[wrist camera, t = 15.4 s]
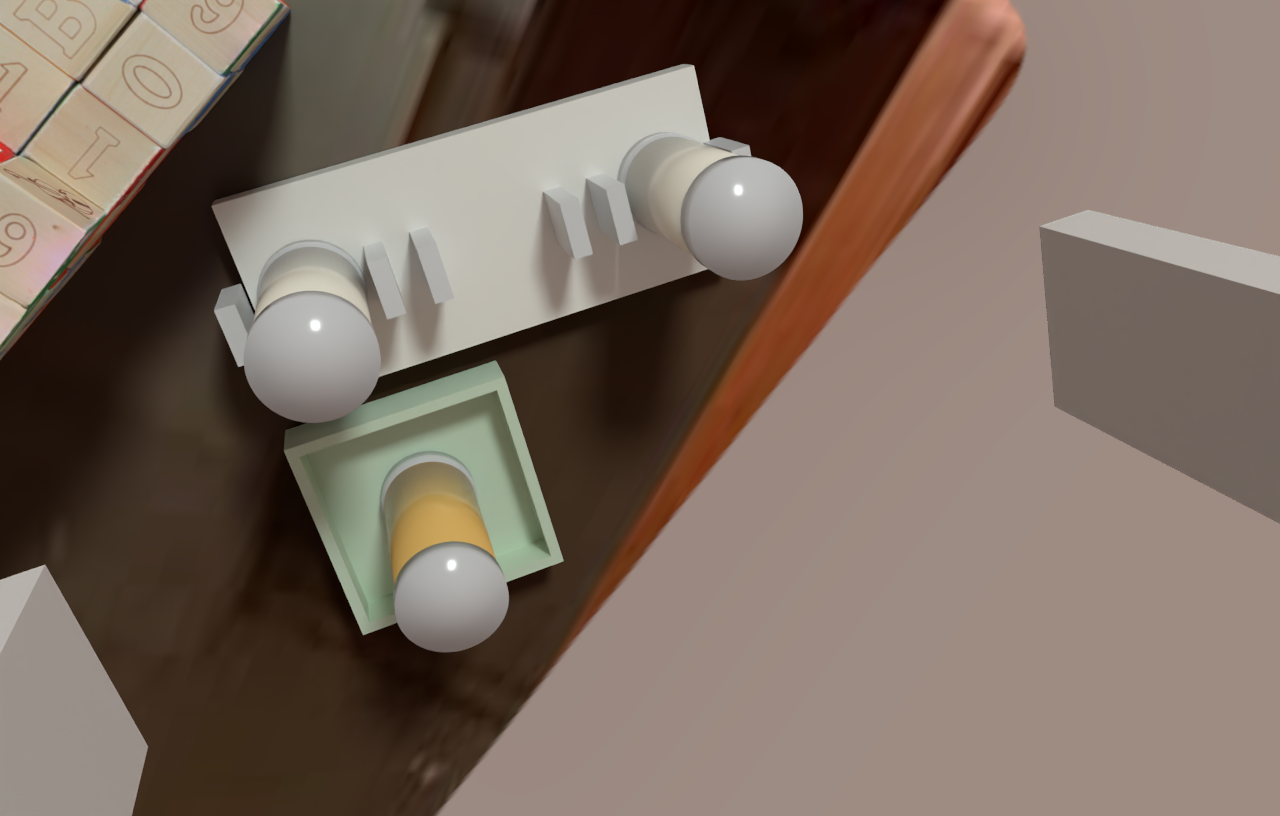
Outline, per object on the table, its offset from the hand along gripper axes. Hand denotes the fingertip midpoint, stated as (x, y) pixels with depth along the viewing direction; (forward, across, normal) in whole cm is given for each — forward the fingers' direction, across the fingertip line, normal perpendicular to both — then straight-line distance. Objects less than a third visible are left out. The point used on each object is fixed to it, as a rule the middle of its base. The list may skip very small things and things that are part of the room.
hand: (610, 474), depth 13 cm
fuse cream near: (+33, -6, -4) cm, 34 cm away
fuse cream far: (+33, +10, -4) cm, 35 cm away
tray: (+35, -4, -15) cm, 38 cm away
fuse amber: (+34, -4, -15) cm, 37 cm away
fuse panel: (+35, +2, -4) cm, 35 cm away
